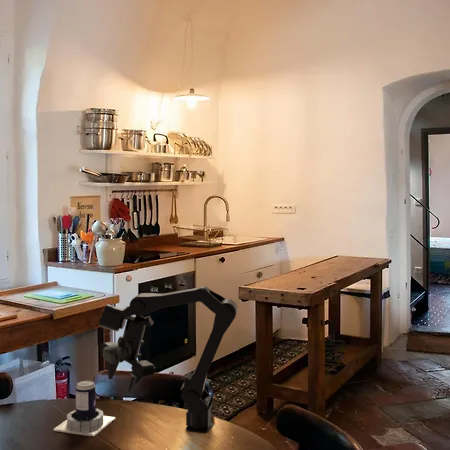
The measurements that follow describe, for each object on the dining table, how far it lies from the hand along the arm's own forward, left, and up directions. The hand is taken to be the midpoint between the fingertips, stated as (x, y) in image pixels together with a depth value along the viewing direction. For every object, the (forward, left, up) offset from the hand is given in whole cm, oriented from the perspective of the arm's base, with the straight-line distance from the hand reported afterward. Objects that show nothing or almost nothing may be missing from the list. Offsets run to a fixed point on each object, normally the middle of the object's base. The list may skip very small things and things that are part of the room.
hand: (120, 385), depth 173 cm
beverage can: (+9, +3, -11) cm, 15 cm away
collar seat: (+10, +3, -12) cm, 16 cm away
